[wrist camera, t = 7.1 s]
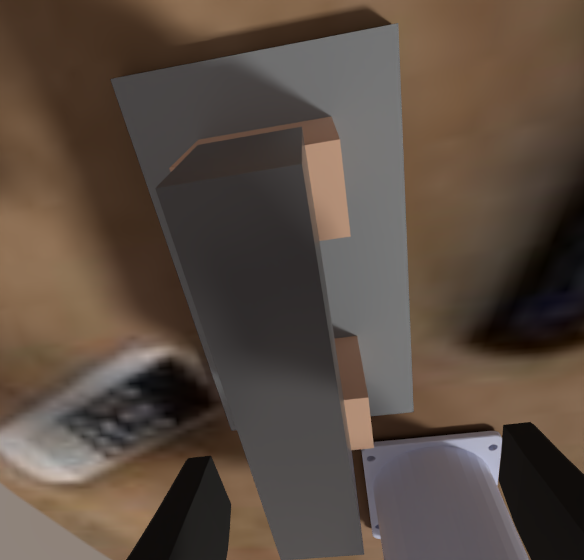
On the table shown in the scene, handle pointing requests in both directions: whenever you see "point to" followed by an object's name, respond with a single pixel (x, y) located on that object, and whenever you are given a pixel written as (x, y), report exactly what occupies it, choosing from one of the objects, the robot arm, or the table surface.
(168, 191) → the dark gray bar
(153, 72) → the display stand
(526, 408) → the table surface
